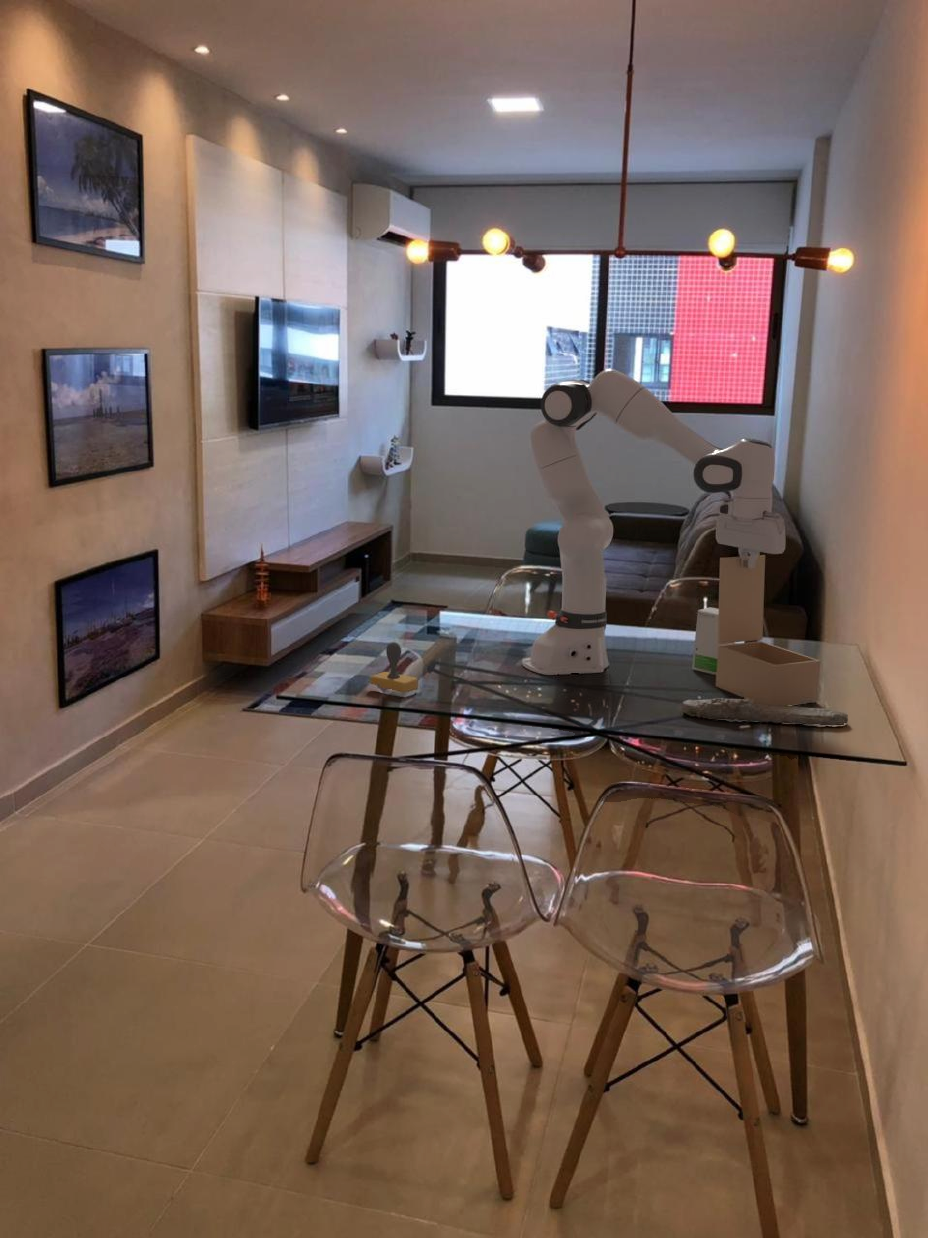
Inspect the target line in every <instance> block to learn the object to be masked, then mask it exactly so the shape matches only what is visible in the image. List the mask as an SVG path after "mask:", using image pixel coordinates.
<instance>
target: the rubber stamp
mask: <svg viewBox="0 0 928 1238" xmlns="http://www.w3.org/2000/svg"><path fill="white" fill-rule="evenodd" d="M385 651H386V656H387V659H388V663H389V665H390V672H389V671H382V672H379V673H377V674H374V675H370V676H369V684H370V683H371V684H375V685H377V686H380V687H382V688H388V689H392V690H396V691H399V692H402V693H405V692H410V691H413V690H418V691H419V679H418V677H413V676H409V675H403V674H399V673H398V672H397V667H398V665H399V662H400V659H401V655H402V647H401V645H400V644H399V643H398V642H396V641H392V642H389V643H388V645H387V646H386V650H385Z"/></svg>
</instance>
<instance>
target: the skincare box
mask: <svg viewBox="0 0 928 1238" xmlns="http://www.w3.org/2000/svg"><path fill="white" fill-rule="evenodd" d="M718 614H719V608H717V607H711V606H709V607H706V608H701V609H698V610H697V614H696V615H697V616H696V625H695V627H696V628H695V634H694V635H695V637H694V644H693V645H694V646H693V647H694V648H693V658H692V667H691V668H692V670H694V671H697V672H698V671H699V672H702V673H706V674H710V675H715V676H716V673H717V659H718V646H722V645H732V644H736V642H734V643H725V644H718Z"/></svg>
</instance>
